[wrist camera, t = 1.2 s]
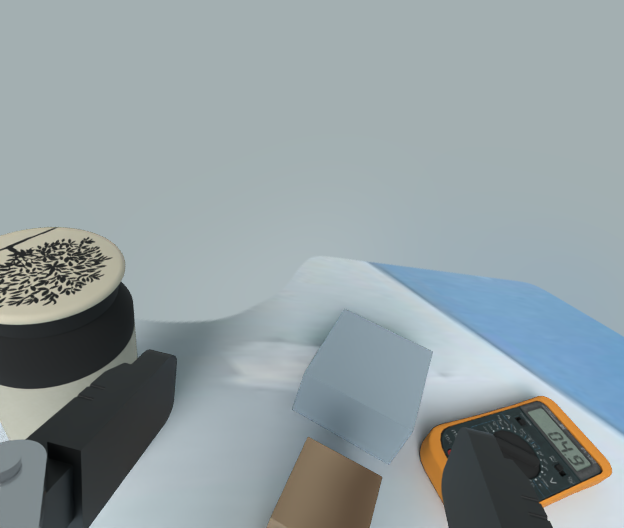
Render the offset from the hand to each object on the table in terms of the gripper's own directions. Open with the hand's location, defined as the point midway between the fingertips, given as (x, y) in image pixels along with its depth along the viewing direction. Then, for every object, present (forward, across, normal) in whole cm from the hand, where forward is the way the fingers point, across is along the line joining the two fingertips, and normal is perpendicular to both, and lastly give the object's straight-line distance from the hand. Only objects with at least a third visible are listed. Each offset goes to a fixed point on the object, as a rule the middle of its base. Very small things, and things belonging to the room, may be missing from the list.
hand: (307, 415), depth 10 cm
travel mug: (+13, +16, +19) cm, 28 cm away
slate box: (+25, -4, +17) cm, 30 cm away
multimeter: (+23, -20, +20) cm, 36 cm away
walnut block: (+10, -1, +21) cm, 23 cm away
